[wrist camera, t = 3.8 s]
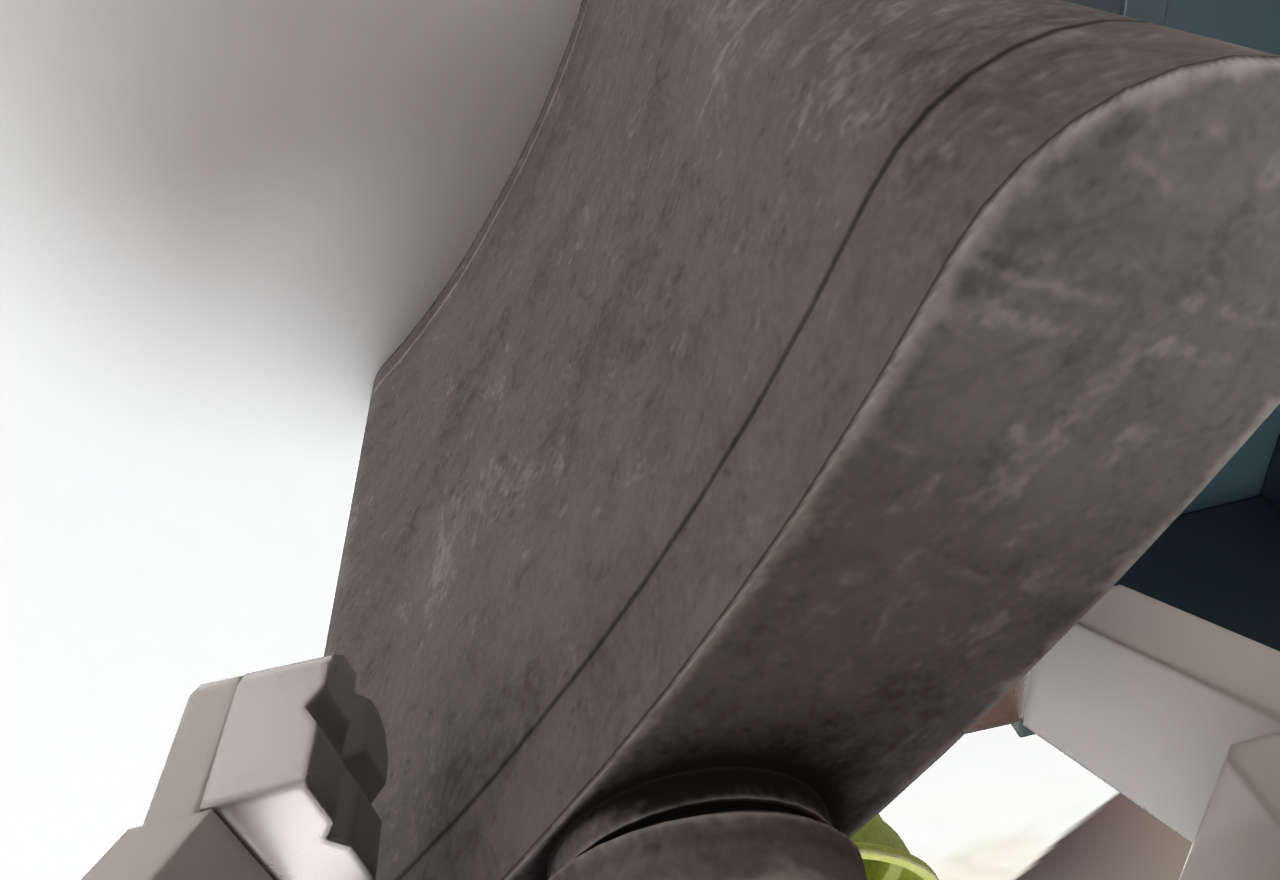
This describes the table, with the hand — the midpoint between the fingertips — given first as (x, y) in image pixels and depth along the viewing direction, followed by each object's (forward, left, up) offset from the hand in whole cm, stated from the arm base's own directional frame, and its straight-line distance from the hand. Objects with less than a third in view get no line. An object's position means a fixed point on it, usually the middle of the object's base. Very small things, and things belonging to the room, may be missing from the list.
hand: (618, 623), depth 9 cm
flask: (0, 0, -13) cm, 13 cm away
